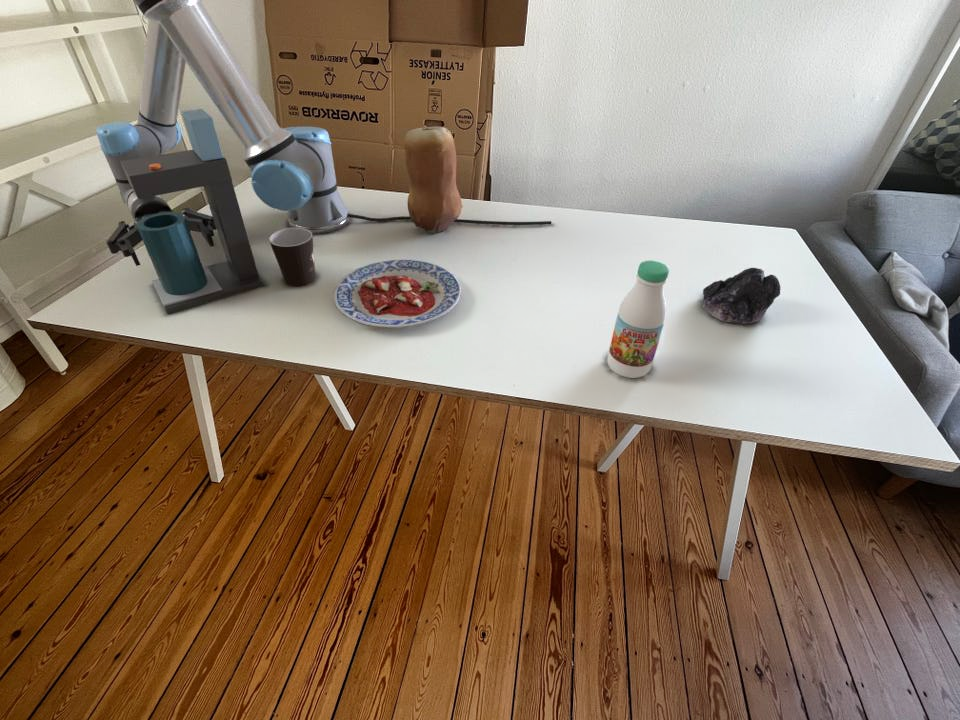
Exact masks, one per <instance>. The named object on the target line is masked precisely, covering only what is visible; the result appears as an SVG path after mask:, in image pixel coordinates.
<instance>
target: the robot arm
mask: <svg viewBox="0 0 960 720" xmlns="http://www.w3.org/2000/svg"><path fill="white" fill-rule="evenodd" d="M202 1H203V0H133V2H134V4H135V5H136V7H137V8H138V9H139V11H140V12H141V14H142V15H143V16H144V17H145V18H146V19H148V20H147V30H146V31H147V32H146V40H145V50H144V59H143V70H142V71H143V72H142V78H141V79H142V80H141V89H140V99H139V110H138V117H137V122H136V123H135V124H134V125H133V124H132V123H130V122H125V121H114V122H109V123H105V124H102V125H99V126H98V127H97V128H96V132H95V133H96V136H97V139H98V141H99V145H100V150H101V151H102V152H103V155H104V157H105V159H106V161H107V164H108V166H109V168H110V171H111V173H112V175H113V177H114V180H115V183H116V185H117V187H118V190H119V195H120V196H121V200H122V202H123V203H124V204H125V205H126V206H127V208H128V210H129V213H130V214H131V216H132V218H133V220H134V221H133V222H132V223H129V222H126V221H125V220H120V221H118V226H117V228H116V229H115V230H114V231H113V232H112V234H111V235H110V236H109V237H108V238H107V240H106V241H105V242H106V245H107V247H108V249H109V252H111V254H113V255H115V254H118V253H119V252H121V253H122V254H123V257H124V258H128V257H131V258H132V260H133V262H134V265H135V267H138V266H141V262H140V260H139V258H138V256H137V254H136V251H135V249H134V248H135V247H136V246H138V245H139V244H140V243H141V242H143V240H142V237H141V235H140V233H139V230H138V228H137V223H138V222H139V221H140V220H141V219H143V218H145V217H147V216H150V215H153V214H158V213H164V212H175V213H177V212H176V211H173V209H172V207H170V205H169V204H168V202H167V201H166V200H165V198H164V196H163V194H162V195H156V196H153V197H146V198H141V199H138V198H137V196H136V194H135V192H134V191H133V189H132V187H131V185H130V184H129V181H128V179H127V177H126V174H125V172H124V169H123V167H122V164H121V162H120V161H125V160H131V159H138V158H144V157H150V156H156V155H163V154H166V152H169V151H171V150H173V149H174V148H175V147H176V146H177V145H178V144H179V143H180V141H181V139H182V135H183V134H182V131H181V128H180V125H179V123H178V122H177V121H178V115H179V108H180V102H181V97H182V96H181V95H182V90H183V82H184V76H185V69H186V64H187V66H188V67H189V68H190V71H192V73H193V74H194V76H195V77H196V79H197V81H198V82H199V84H200V85H201V86H202V88H203V89H204V91H205V92H206V94H207V95H208V96H209V98H210V99H211V101H212V102H213V104H214V105H215V107H216V109H218V111H219V113H220V114H221V116H222V117H223V118H224V120H225V122H226V123H227V125H228V126H229V127H230V129H231V130H232V132H233V133H234V135H235V136H236V137H237V139H238V141H239V142H240V144H241V146H243V157H242V159H243V160H244V162H245V163H246V165H247V167H248V168H249V169H250V171H251V181H250V182H251V187H252V189H253V192H254V193H255V195H256V196H257V198H258V199H259V200H260V201H261V202H262V203H264V204H265V205H267V206H268V207H269V208H272V209H276V210H279V211H281V212H287V222H288V225H289V228H304V229H307V230H309V231H311V233H312V235H313V234H326V233H330V232H334V231H337V230H339V229H342V228H343V227H345V226H346V225H347V224H348V223H349V221H350V218H352V219H357V220H364V221H367V222H368V221H369V222H391V221H403V220H404V221H406V220H407V221H409V220H410V221H412V219H411V218H410V216H409V215H408V216H407V215H406V216H404V215H403V216H391V217H377V218H376V217H368V216H364V215H358V214H352V213H349V210H348V207H347V206H346V204H345V202H344V199H343V198H342V196H341V194H340V192H339V190H338V184H337V177H336V171H335V164H334V157H333V150H332V142H331V139H330V135H329V132H328V131H327V130H326V129H325V128H322V127H318V126H290V127H289V126H288V127H283V128H282V127H281V126H280V125H279V124H278V122H277V121H276V119H275V117H274V116H273V115H272V113H271V111H270V110H269V107H268V106H267V104H266V103H265V102H264V100H263V99H262V97H261V95H260V93H259V92H258V90H257V89H256V87H255V86H254V83H253V82H252V81H251V79H250V77H249V76H248V74H247V72H246V71H245V69H244V68H243V66H242V64H241V63H240V61H239V60H238V59H237V57H236V55H235V54H234V52H233V50H232V49H231V47H230V45H229V44H228V43H227V41H226V39H225V37H224V36H223V35H222V33H221V31H220V30H219V28H218V27H217V25H216V23H215V21H214V20H213V18H212V17H211V15H210V13H209V12H208V11H207V9H206V8H205V5H204V4H203V2H202ZM179 213H180V214H182V215H184V216H185V219H186V221H187V224H188V227H189V230H190V232H196V233H201V236H202V237H203V238H204V239H205V241H206V243H207V244H208V245H209V246H210V248H213V247H216V245H215V242H214V239H213V237H215V232H214V231H217V229H216V226H215V223H214V220H213V217H212V215H209V214H206V213H202V212H200V211H199V212H198V211H195V210H192V209H191V208H189V207H184V208H183V209H182V211H181V212H179ZM453 223H459V224H475V225H477V224H478V225H495V226H496V225H497V226H540V225H541V226H543V225H552V220H544V221H541V220H540V221H498V220H497V221H496V220H479V219H478V220H476V219H465V218H464V219H461V218H457V219H456V220H455V221H454V222H453Z"/></svg>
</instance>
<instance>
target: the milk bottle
mask: <svg viewBox="0 0 960 720" xmlns="http://www.w3.org/2000/svg"><path fill="white" fill-rule="evenodd" d="M669 273H670V269H669V267H668V265H666V264H665V263H663V262H661V261H657V260H650V259H649V260H644V261H642V262H640V264H639V265H638V268H637V273H636V281H635V283H634V285H633V286H632V288H631V289H630V290H629V291H628V292H627V293H626V295H625V296H624V298H623V299H622V300H621V303H620V305H619V308H618V312H617V315H616V319H615V324H614V327H613V331H612V336H611V340H610V344H609V347H608V348H609V349H608V353H607V358H606V362H607V365H608V367H609V368H610V369H611V371H612V372H614V373H615V374H617V375H619V376H621V377H625V378H630V379H638V378H642V377H644V376H646V375H647V374H648V373H649V372H650V371H651V368H652V365H653V362H654V360H655V356H656V352H657V350H658V346H659V342H660V339H661V336H662V332H663V329H664V326H665V321H666V316H667V304H666V303H667V302H666V298H665V294H664V285H665V284H667V279H668V278H669Z"/></svg>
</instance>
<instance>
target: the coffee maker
mask: <svg viewBox="0 0 960 720" xmlns="http://www.w3.org/2000/svg"><path fill="white" fill-rule="evenodd" d="M180 112H181V116H182V119H183V122H184V125H185V128H186V132H187V135H188V138H189V141H190V144H191V148H192V149H189V150H181V151H176V152H170V153H163V154H161V155H156V156H150V157H144V158H138V159H131V160H125V161H120V162H121V164H122V167H123V169H124V172H125V174H126V177H127V179H128V181H129V184H130V185H131V187H132V189H133V191H134V192H135V194H136V196H137V198H138V199H141V198H146V197H153V196H156V195H162V196H163V195H166V194H172V193H177V192H182V191H186V190H191V189H197V188H202V187H203V190H204V193H205V196H206V200H207V202H208V203H207V204H208V206H209V210H210V213H211V216H212V217H213V220H214V223H215V226H216V229H217V230H216V232H217V235H218V238H219V242H220V244H221V248H222V251H223V253H224V255H225V258H226V261H222V262H218V263H213V264H209V265H207V266H206V265H205V266H203V269H204V272H205V275H206V278H207V284H206V285H205V286H204V287H203V288H202V289H200V290H198V291H196V292H194V293H190V294H186V295H171V294H168V293H166V292H165V291H164V289H163V287H162V284H161V282H160V280H159V278H157V279H154V280H151V282H152V285H153V287H154V290H155V291H156V294H157V296H158V297H159V300H160V302H161V304H162V306H163V308H164V311H165V312H166V314H167V315H169V314H173V313H176V312H180V311H183V310H186V309H190V308H193V307H196V306H200V305H204V304H207V303H210V302H213V301H217V300H221V299H224V298H227V297H231V296H234V295H237V294H240V293H244V292H247V291H251V290H254V289H257V288H260V287H264V286H265V285H264V281H263V279H262V278H261V277H260V276H259V271H258V268H257V265H256V264H257V263H256V260H255V257H254V254H253V251H252V247H251V244H250V240H249V235H248V233H247V228H246V226H245V222H244V218H243V215H242V211H241V208H240V203H239V201H238V197H237V194H236V190H235V187H234V183H233V178H232V174H231V170H230V167H229V164H228V160H227V158H226V157H224V154H223V150H222V148H221V144H220V140H219V136H218V133H217V130H216V126H215V122H214V119H213V117H212V116H210V114H209V113H207V112H206V111H205V110H204V109H202V108H198V109H197V108H196V109H190V110H182V111H180Z"/></svg>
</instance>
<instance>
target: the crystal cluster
mask: <svg viewBox="0 0 960 720" xmlns="http://www.w3.org/2000/svg"><path fill="white" fill-rule="evenodd" d="M781 287H782V286H781V283H780V281H779V279H778V277H777V276H776V275H774V274H769V275H766V276H765V271H764V270H763V269H762V268H758V267H749V268H745V269H743V270H742V271H741V272H739V273H737V274H735V275H733V276H732V277H731V276H730V277H728V278H726V279H725V280H722V279H720V280H716V281H713V282H712V283H710V284H709V285H707V286H705V287H704V288H703V290H702V296H703V305H702V308H703V309H704V310H705V311H707V312H708V313H709V314H710V315H711V316H712V317H713V318H715V319H717V320H719V321H721V322H724V323H731V324H743V325H745V324H752V323H757V322H761V320H762V318H763V317H764V316H765V314H766V312H767V311H768V309H769V308H770V307H771V306H772V305H773V303H774V301H775V299H776V298H778V297H779V296H780V295H781Z"/></svg>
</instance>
